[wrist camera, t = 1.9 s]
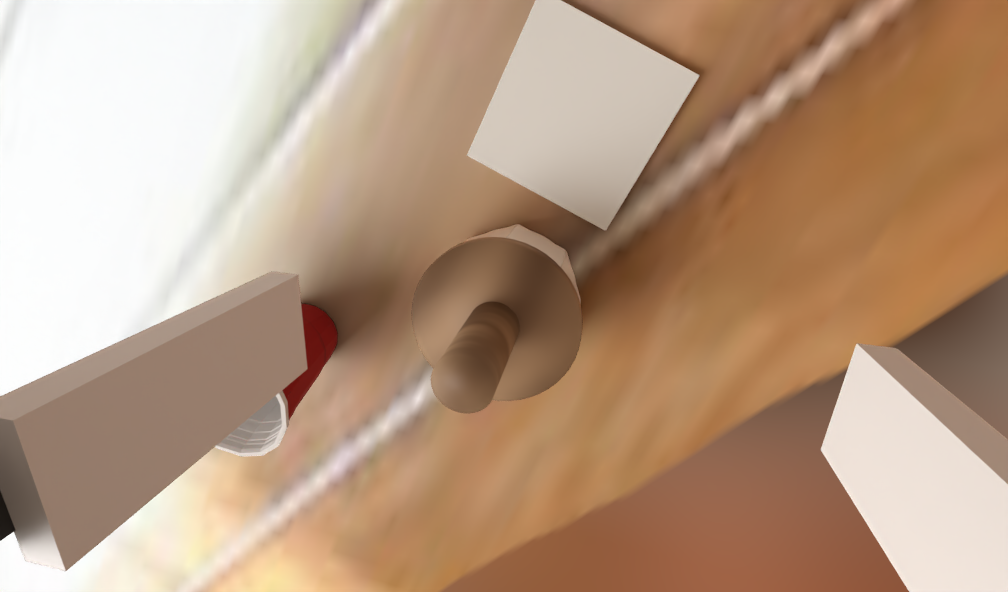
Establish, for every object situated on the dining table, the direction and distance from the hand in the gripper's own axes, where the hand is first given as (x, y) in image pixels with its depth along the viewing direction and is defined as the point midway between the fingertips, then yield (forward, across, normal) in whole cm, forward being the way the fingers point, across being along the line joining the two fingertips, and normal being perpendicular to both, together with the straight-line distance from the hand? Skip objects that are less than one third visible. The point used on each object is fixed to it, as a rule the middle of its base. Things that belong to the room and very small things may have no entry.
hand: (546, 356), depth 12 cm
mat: (+28, -2, +5) cm, 28 cm away
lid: (+21, -5, -8) cm, 23 cm away
